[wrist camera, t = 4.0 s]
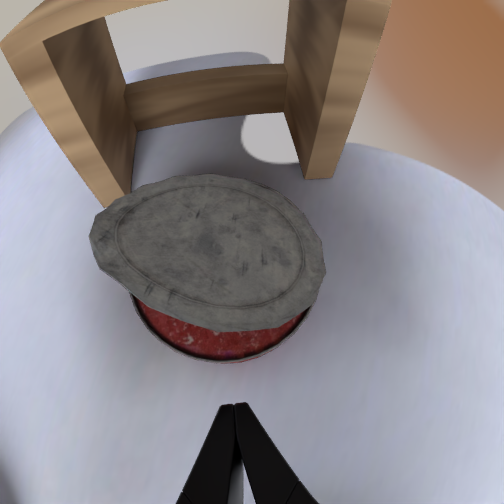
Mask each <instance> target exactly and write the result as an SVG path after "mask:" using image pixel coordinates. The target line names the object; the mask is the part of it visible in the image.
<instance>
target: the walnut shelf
mask: <svg viewBox="0 0 504 504" xmlns="http://www.w3.org/2000/svg"><path fill="white" fill-rule="evenodd" d="M161 1H166V0H45V1H43V2H42V3H41V4H40V5H39V6H38V7H36V8H35V9H34V10H33V11H32V12H31V13H29V15H27V16H26V17H25V18H24V19H23V20H22V21H21V22H20V23H19V24H18V25H17V26H16V27H14V29H12V31H10V33H9V34H7V35H6V37H5V38H4V39H3V40H2V41H1V42H0V47H1V50H2V52H3V53H4V55H5V57H6V59H7V61H8V63H9V65H10V66H11V68H12V70H13V72H14V74H15V76H16V78H17V79H18V81H19V83H20V84H21V86H22V88H23V90H24V91H25V93H26V95H27V96H28V98H29V100H30V101H31V103H32V105H33V106H34V108H35V110H36V111H37V113H38V114H39V116H40V118H41V119H42V121H43V122H44V124H45V125H46V127H47V128H48V130H49V132H50V133H51V135H52V136H53V138H54V139H55V141H56V142H57V144H58V145H59V147H60V148H61V149H62V151H63V152H64V154H65V155H66V157H67V158H68V160H69V161H70V162H71V164H72V165H73V167H74V168H75V169H76V171H77V172H78V174H79V175H80V176H81V178H82V179H83V180H84V182H85V183H86V185H87V186H88V187H89V189H90V190H91V191H92V193H93V194H94V195H95V197H96V198H97V199H98V200H99V202H100V203H101V204H102V206H103V207H104V208H105V207H108V206H109V205H110V204H111V203H112V202H113V201H114V200H115V199H118V198H120V197H122V196H125V195H127V194H130V191H131V179H132V169H133V160H134V151H135V144H136V136H137V131H142V130H147V129H152V128H157V127H162V126H168V125H174V124H179V123H186V122H192V121H199V120H206V119H214V118H222V117H231V116H240V115H250V114H264V113H278V112H279V113H280V112H284V115H285V118H286V121H287V124H288V127H289V130H290V133H291V136H292V139H293V142H294V146H295V149H296V152H297V156H298V159H299V162H300V165H301V169H302V172H303V176H304V179H305V180H307V179H320V178H332V176H333V174H334V171H335V169H336V166H337V163H338V161H339V158H340V155H341V153H342V150H343V147H344V145H345V142H346V139H347V137H348V134H349V131H350V128H351V126H352V123H353V120H354V117H355V114H356V111H357V108H358V106H359V103H360V100H361V97H362V94H363V91H364V88H365V85H366V83H367V80H368V76H369V74H370V71H371V67H372V64H373V61H374V58H375V55H376V52H377V49H378V46H379V42H380V39H381V36H382V32H383V30H384V26H385V23H386V19H387V16H388V13H389V9H390V6H391V2H392V0H289V11H288V22H287V33H286V45H285V55H284V64H259V65H243V66H231V67H221V68H212V69H204V70H197V71H190V72H184V73H178V74H172V75H167V76H162V77H157V78H152V79H147V80H143V81H138V82H134V83H130V84H126V82H125V79H124V77H123V74H122V71H121V68H120V65H119V62H118V59H117V56H116V52H115V49H114V46H113V43H112V40H111V37H110V34H109V31H108V27H107V24H106V20H105V17H104V16H107V15H110V14H113V13H117V12H120V11H123V10H127V9H131V8H135V7H139V6H143V5H147V4H152V3H156V2H161Z"/></svg>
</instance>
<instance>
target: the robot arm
mask: <svg viewBox="0 0 504 504" xmlns="http://www.w3.org/2000/svg"><path fill="white" fill-rule="evenodd" d="M243 463H244V467H245V470H246V473H247V477H248V480H249V483H250V486H251V490H252V493H253V496H254V499H255V502H256V504H319V503H318V502H317V501H316V500H315V499H314V497H313V496H312V495H311V494H310V493H309V491H308V490H307V489H306V488H305V486H304V485H303V484H302V482H301V481H299V478H298V477H297V476H296V474H295V473H294V471H293V470H292V469H291V467H290V466H289V464H288V463H287V462H286V460H285V459H284V457H283V456H282V455H281V453H280V452H279V450H278V449H277V447H276V446H275V444H274V443H273V441H272V440H271V438H270V437H269V435H268V434H267V432H266V431H265V429H264V428H263V426H262V425H261V423H260V422H259V420H258V419H257V417H256V416H255V414H254V412H253V411H252V409H251V408H250V406H249V405H248V403H246V402H243V403H236V404H234V405H233V404H225V405H221V406H220V407H219V410H218V412H217V414H216V416H215V419H214V421H213V423H212V426H211V428H210V430H209V432H208V435H207V437H206V439H205V441H204V444H203V446H202V448H201V450H200V453H199V455H198V457H197V459H196V461H195V464H194V466H193V468H192V470H191V472H190V474H189V477H188V479H187V481H186V483H185V485H184V487H183V490H182V491H183V492H181V493H180V496H179V498H178V500H177V502H176V504H243Z"/></svg>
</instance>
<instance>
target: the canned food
mask: <svg viewBox="0 0 504 504" xmlns="http://www.w3.org/2000/svg"><path fill="white" fill-rule="evenodd" d="M89 239H90V243H91V247H92V251H93V254H94V257H95V260H96V262H97V264H98V266H99V268H100V270H102V271H103V272H104V273H106V274H107V275H109V276H110V277H111V278H113V279H114V280H115V281H117V282H118V283H120V284H121V285H122V286H123V287H125V288H126V289H127V290H128V291H129V293H130V296H131V299H132V302H133V305H134V307H135V310H136V312H137V314H138V315H139V317H140V319H141V320H142V322H143V323H144V325H145V326H146V328H147V329H148V330H149V331H150V332H151V333H152V334H153V335H154V336H155V337H156V338H157V339H158V340H159V341H160V342H161V343H163V344H164V345H166V346H167V347H169V348H171V349H172V350H174V351H175V352H177V353H179V354H182V355H184V356H187V357H190V358H192V359H195V360H199V361H206V362H212V363H240V362H244V361H248V360H251V359H255V358H258V357H260V356H262V355H264V354H266V353H268V352H270V351H272V350H274V349H275V348H277V347H279V346H280V345H281V344H282V343H283V342H285V341H286V340H287V339H288V338H290V337H291V336H292V335H293V334H295V332H296V331H297V330H298V329H299V327H300V326H301V325H302V324H303V322H304V321H305V320H306V319H307V317H308V315H309V313H310V311H311V309H312V307H313V305H314V303H315V301H316V299H317V295H318V291H319V288H320V285H321V283H322V281H323V278H324V276H325V274H326V269H325V264H324V259H323V252H322V243H321V240H320V239H319V237H318V236H317V234H316V233H315V231H314V230H313V229H312V227H311V225H310V224H309V222H308V220H307V218H306V217H305V215H304V213H302V212H301V211H300V210H299V209H298V208H297V207H296V206H295V205H294V204H293V203H292V202H291V201H290V200H289V199H287V198H286V197H284V196H283V195H282V194H280V193H279V192H277V191H276V190H274V189H271V188H269V187H267V186H265V185H263V184H260V183H257V182H253V181H249V180H247V179H242V178H233V177H226V176H221V175H216V174H211V173H210V174H202V175H194V176H174V177H172V178H169V179H166V180H163V181H160V182H156V183H152V184H147V185H143V186H141V187H139V188H138V189H136V190H134V191H133V192H131V193H130V194H127V195H125V196H122V197H120V198H118V199H115V200H114V201H113V202H112V203H111V204H110V205H109V206H108V208H107V209H105V210H104V211H102V212H100V213H99V214H97V215H96V216H95V219H94V223H93V226H92V229H91V232H90V234H89Z"/></svg>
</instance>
